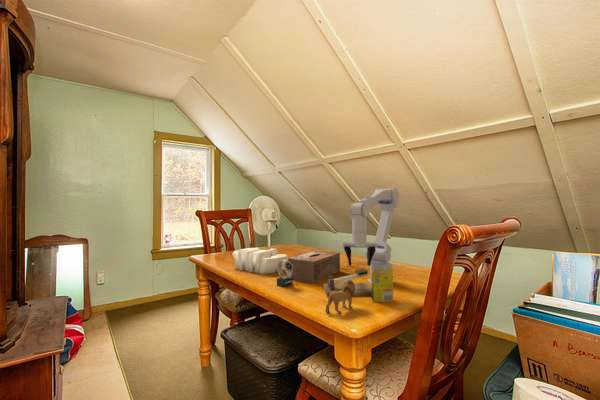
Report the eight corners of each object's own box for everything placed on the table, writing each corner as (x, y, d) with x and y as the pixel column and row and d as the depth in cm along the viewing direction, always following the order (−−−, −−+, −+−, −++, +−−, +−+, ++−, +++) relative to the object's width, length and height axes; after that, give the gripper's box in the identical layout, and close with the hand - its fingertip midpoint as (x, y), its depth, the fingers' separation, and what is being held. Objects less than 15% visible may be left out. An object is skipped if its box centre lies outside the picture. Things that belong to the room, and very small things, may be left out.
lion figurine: (346, 302, 102) (345, 277, 103) (359, 305, 99) (358, 279, 99) (321, 314, 92) (320, 286, 92) (334, 318, 88) (334, 290, 88)
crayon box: (391, 299, 105) (390, 267, 105) (393, 301, 102) (393, 269, 102) (371, 299, 105) (370, 268, 105) (373, 302, 102) (373, 270, 102)
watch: (286, 288, 120) (286, 262, 120) (274, 284, 125) (274, 259, 125) (295, 285, 124) (295, 260, 124) (283, 281, 129) (283, 257, 129)
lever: (329, 286, 112) (329, 271, 112) (327, 282, 117) (327, 269, 117) (368, 285, 112) (368, 270, 112) (365, 281, 117) (365, 268, 117)
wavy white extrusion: (226, 267, 160) (225, 248, 160) (247, 262, 173) (247, 245, 173) (270, 276, 139) (270, 255, 139) (291, 269, 152) (291, 250, 152)
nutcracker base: (367, 286, 121) (367, 273, 121) (375, 295, 109) (375, 281, 109) (323, 287, 120) (323, 274, 120) (327, 296, 108) (326, 282, 108)
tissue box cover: (316, 268, 156) (316, 250, 156) (340, 271, 147) (339, 252, 147) (288, 279, 135) (288, 258, 135) (313, 283, 126) (313, 261, 126)
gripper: (342, 232, 111) (342, 267, 111) (379, 233, 111) (379, 267, 110) (340, 231, 118) (340, 263, 118) (375, 231, 118) (375, 264, 117)
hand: (359, 265), depth 114 cm, fingers open, 7 cm apart
